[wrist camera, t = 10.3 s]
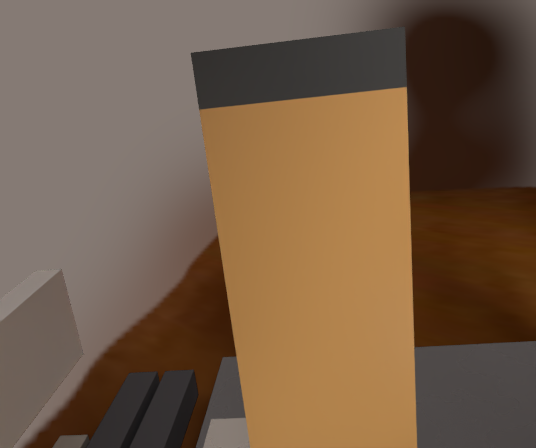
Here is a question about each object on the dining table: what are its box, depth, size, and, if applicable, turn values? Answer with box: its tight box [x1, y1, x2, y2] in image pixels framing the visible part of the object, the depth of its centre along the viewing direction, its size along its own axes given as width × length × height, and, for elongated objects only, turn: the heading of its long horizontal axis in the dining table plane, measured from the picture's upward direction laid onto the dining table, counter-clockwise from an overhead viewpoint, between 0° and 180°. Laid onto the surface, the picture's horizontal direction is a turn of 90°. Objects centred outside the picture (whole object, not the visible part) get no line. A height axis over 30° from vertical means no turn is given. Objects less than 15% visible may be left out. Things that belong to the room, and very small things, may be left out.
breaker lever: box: [191, 27, 417, 448], centre depth 15 cm, size 5×4×13 cm
